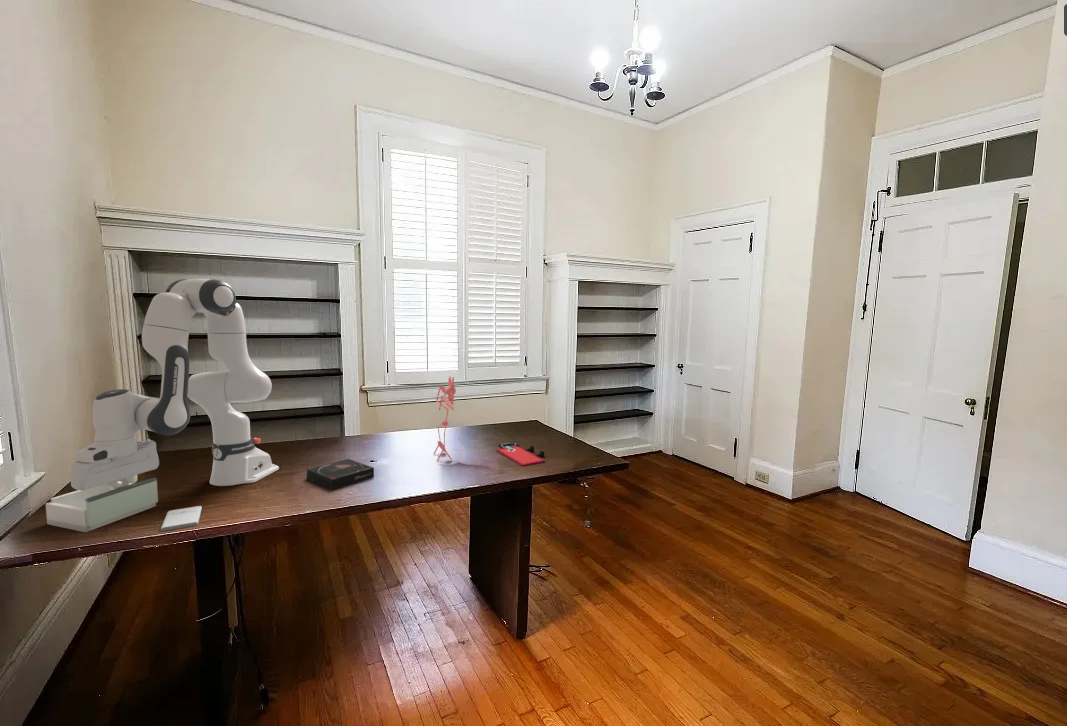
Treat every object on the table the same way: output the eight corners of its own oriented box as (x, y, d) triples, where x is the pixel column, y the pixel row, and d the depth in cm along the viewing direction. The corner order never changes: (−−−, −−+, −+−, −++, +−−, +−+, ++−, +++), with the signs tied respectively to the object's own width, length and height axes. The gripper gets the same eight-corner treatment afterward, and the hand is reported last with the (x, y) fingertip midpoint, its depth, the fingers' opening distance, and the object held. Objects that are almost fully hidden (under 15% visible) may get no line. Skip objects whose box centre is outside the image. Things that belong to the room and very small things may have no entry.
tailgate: (155, 501, 140) (153, 477, 139) (158, 501, 139) (156, 477, 139) (87, 525, 123) (85, 498, 122) (91, 526, 123) (88, 499, 122)
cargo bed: (120, 499, 144) (119, 478, 143) (156, 506, 140) (154, 484, 140) (47, 524, 127) (45, 500, 126) (85, 532, 123) (83, 507, 122)
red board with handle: (516, 443, 220) (488, 448, 212) (516, 437, 220) (489, 442, 212) (552, 462, 195) (522, 468, 187) (552, 455, 195) (522, 461, 187)
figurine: (438, 467, 182) (441, 380, 179) (428, 449, 206) (430, 372, 203) (475, 464, 188) (479, 380, 185) (462, 447, 212) (464, 372, 208)
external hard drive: (160, 533, 125) (168, 515, 135) (197, 527, 129) (202, 510, 140) (160, 527, 125) (167, 510, 135) (197, 521, 129) (201, 505, 140)
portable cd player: (347, 468, 180) (347, 458, 180) (373, 478, 170) (373, 467, 170) (306, 479, 167) (306, 469, 166) (332, 491, 157) (332, 479, 157)
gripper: (147, 436, 140) (150, 480, 142) (64, 456, 121) (68, 506, 122) (163, 438, 139) (165, 482, 140) (81, 458, 119) (85, 509, 121)
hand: (119, 494), depth 131 cm, fingers closed
